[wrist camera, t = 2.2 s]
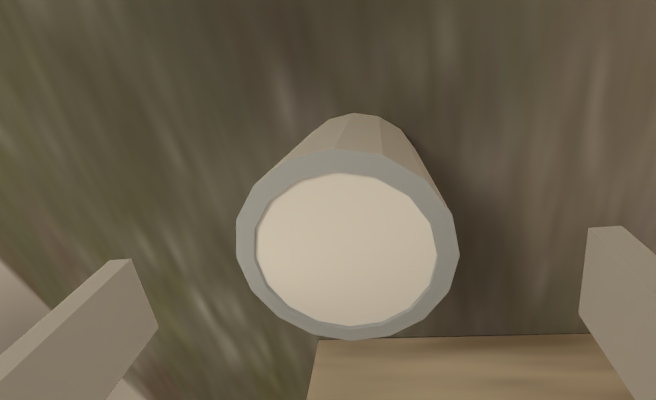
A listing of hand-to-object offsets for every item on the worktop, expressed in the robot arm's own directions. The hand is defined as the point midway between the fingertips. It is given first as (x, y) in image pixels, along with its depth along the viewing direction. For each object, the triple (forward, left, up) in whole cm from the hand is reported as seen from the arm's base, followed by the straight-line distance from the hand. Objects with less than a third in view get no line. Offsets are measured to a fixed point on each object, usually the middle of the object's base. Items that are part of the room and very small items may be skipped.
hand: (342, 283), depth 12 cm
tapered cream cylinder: (0, 0, -8) cm, 8 cm away
